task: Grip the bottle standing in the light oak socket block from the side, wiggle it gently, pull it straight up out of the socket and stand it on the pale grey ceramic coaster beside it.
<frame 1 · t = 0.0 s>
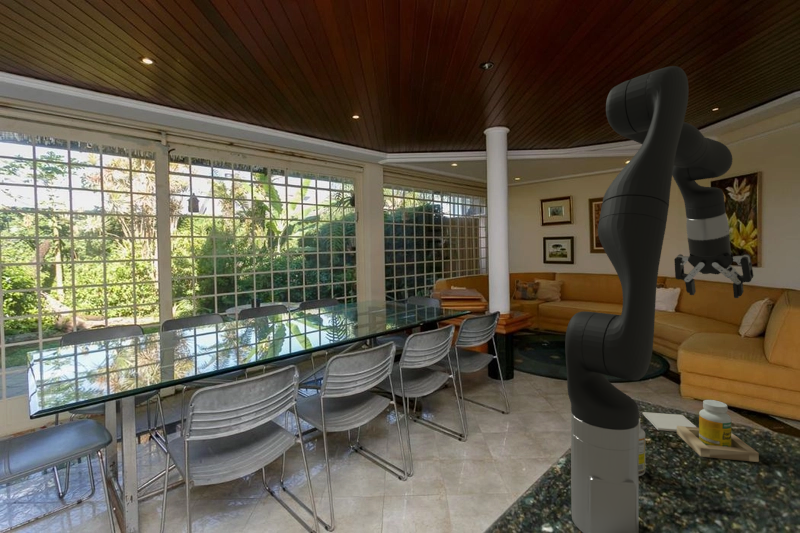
hand: (714, 295, 90), 31 cm above the countertop, tool tilted 20°, fingers open, 8 cm apart
supplement bottle 2: (628, 470, 72), on the countertop
coaster: (670, 423, 91), on the countertop
supplement bottle: (714, 447, 80), resting in socket block
socket block: (714, 446, 80), on the countertop
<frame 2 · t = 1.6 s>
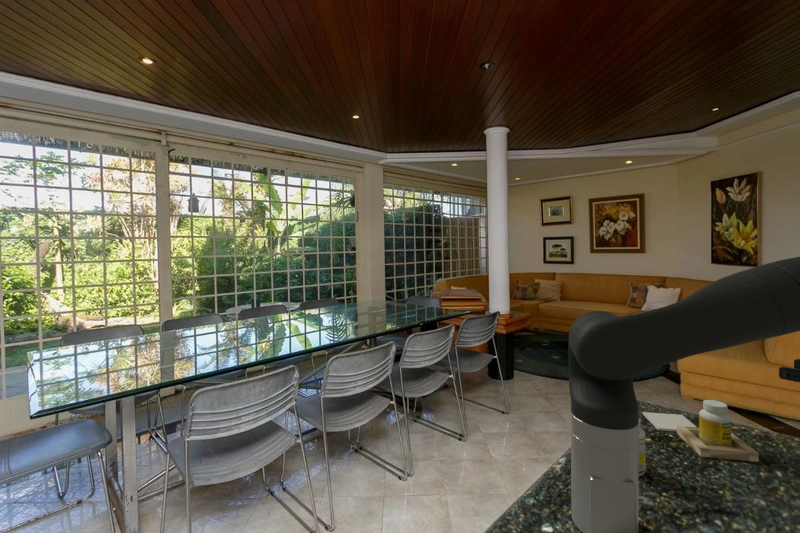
hand: (787, 368, 70), 20 cm above the countertop, tool horizontal, fingers open, 8 cm apart
nothing on the countertop moved.
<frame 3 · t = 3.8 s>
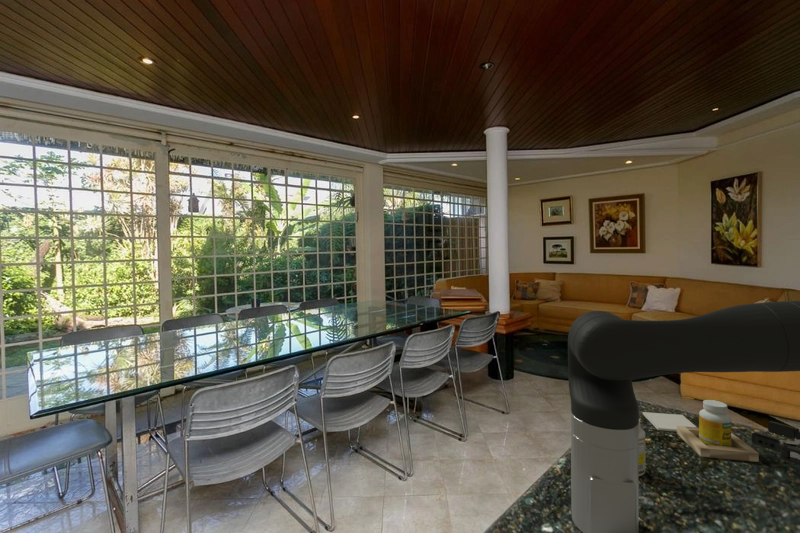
hand: (760, 431, 73), 6 cm above the countertop, tool horizontal, fingers open, 8 cm apart
nothing on the countertop moved.
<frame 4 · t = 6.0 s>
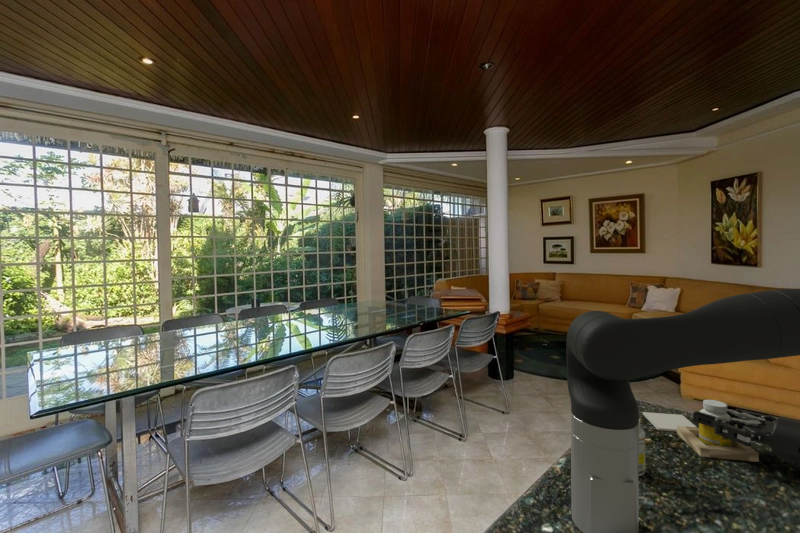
hand: (700, 412, 82), 7 cm above the countertop, tool horizontal, fingers closed on supplement bottle, 5 cm apart
supplement bottle: (714, 447, 80), resting in socket block, touching gripper
everything else where it was.
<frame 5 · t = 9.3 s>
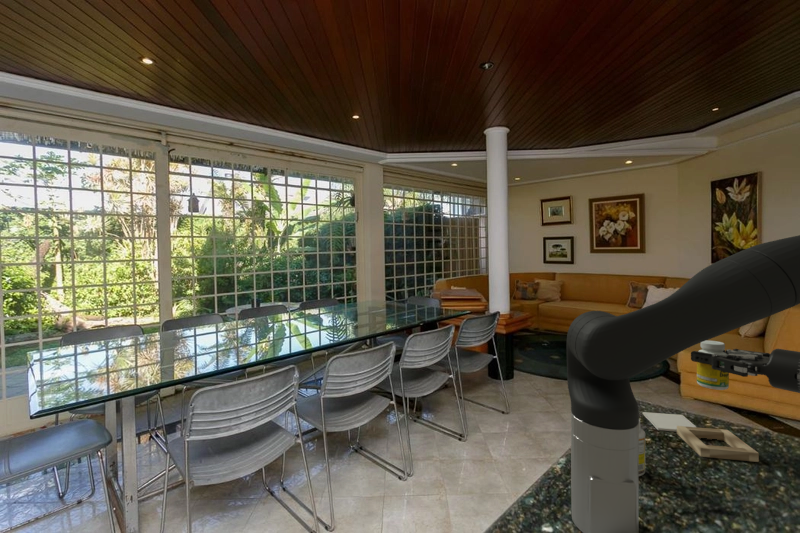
hand: (698, 353, 82), 20 cm above the countertop, tool horizontal, fingers closed on supplement bottle, 5 cm apart
supplement bottle: (712, 387, 80), point 13 cm above the countertop, touching gripper
everything else where it was.
when the fingers open (8 cm above the countertop, at t = 12.6 s): supplement bottle drops 1 cm, resting on coaster.
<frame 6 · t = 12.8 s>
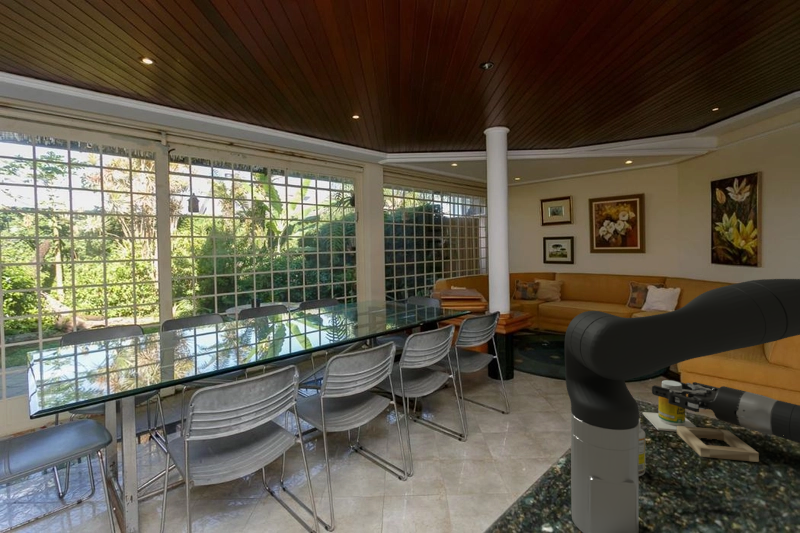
hand: (660, 386, 93), 8 cm above the countertop, tool horizontal, fingers open, 7 cm apart
supplement bottle: (671, 422, 91), resting on coaster
everything else where it was.
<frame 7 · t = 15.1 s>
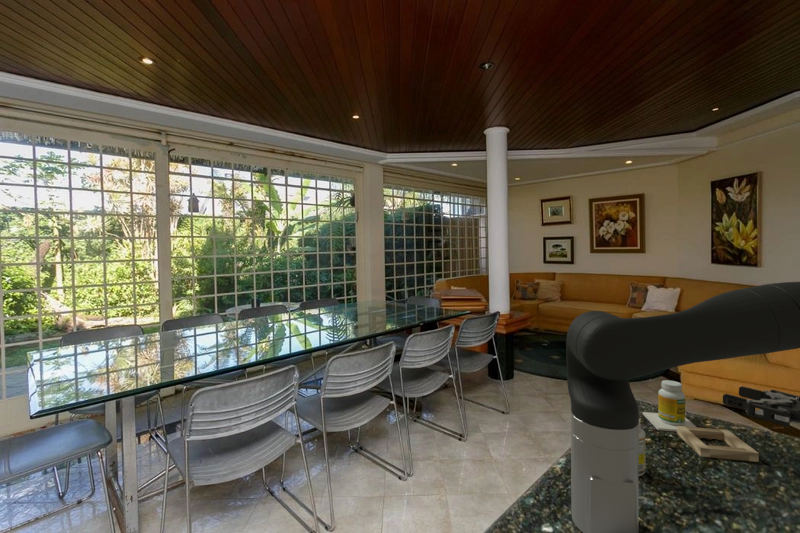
hand: (731, 394, 81), 11 cm above the countertop, tool horizontal, fingers open, 8 cm apart
nothing on the countertop moved.
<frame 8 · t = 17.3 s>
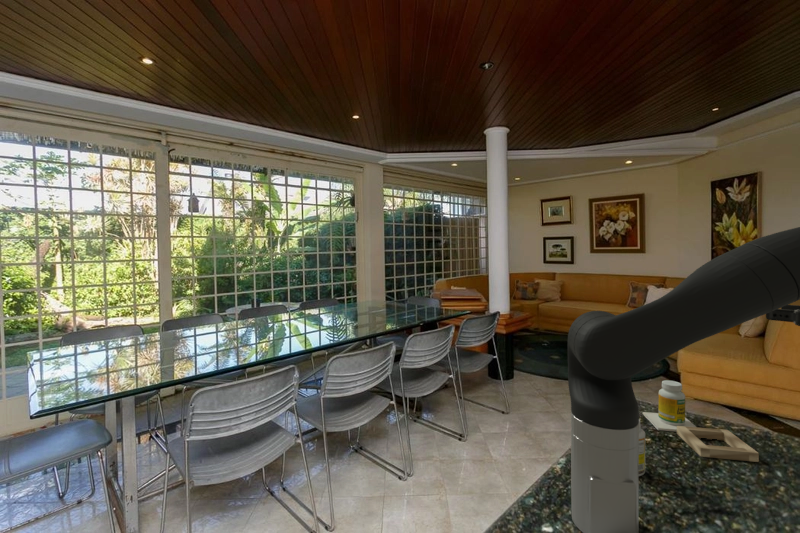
hand: (774, 311, 74), 30 cm above the countertop, tool horizontal, fingers open, 8 cm apart
nothing on the countertop moved.
at the end: supplement bottle 0.2 cm off-centre on the coaster, point 0.3 cm above the coaster's base; supplement bottle tilted 0°; the gripper is holding nothing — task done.
